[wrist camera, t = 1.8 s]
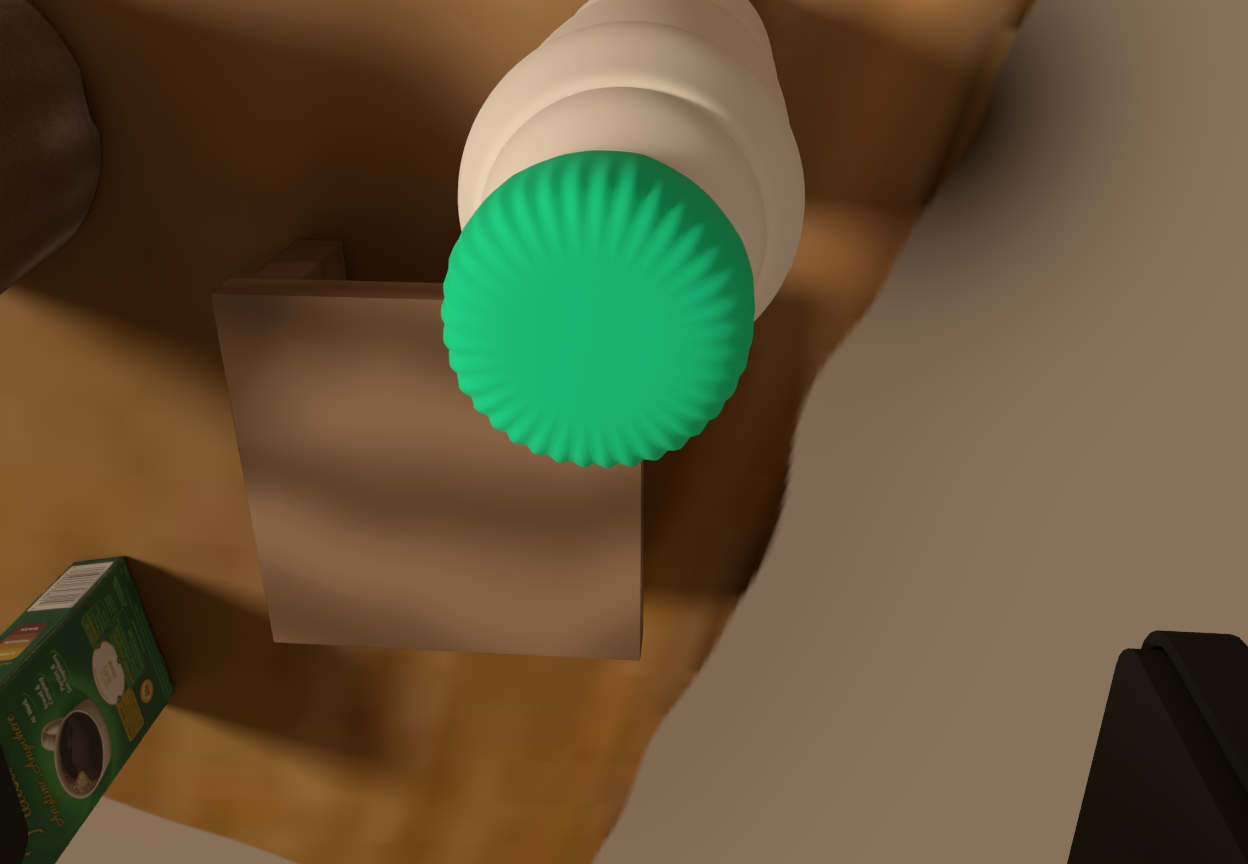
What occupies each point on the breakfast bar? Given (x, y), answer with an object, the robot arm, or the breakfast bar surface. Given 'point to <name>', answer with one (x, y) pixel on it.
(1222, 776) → the robot arm
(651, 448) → the water bottle
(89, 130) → the plant pot
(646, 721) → the breakfast bar surface
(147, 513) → the breakfast bar surface
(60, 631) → the coffee box
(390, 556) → the small square stand
